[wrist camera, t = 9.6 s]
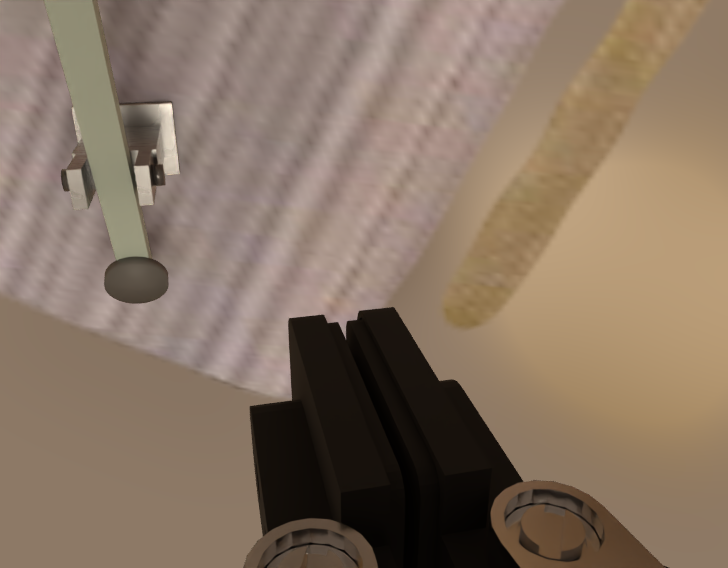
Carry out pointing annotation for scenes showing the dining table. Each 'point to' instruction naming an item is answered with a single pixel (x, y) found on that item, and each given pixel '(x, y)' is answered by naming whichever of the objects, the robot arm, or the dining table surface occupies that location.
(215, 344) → the dining table surface
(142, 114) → the pivot stand
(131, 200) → the lever
